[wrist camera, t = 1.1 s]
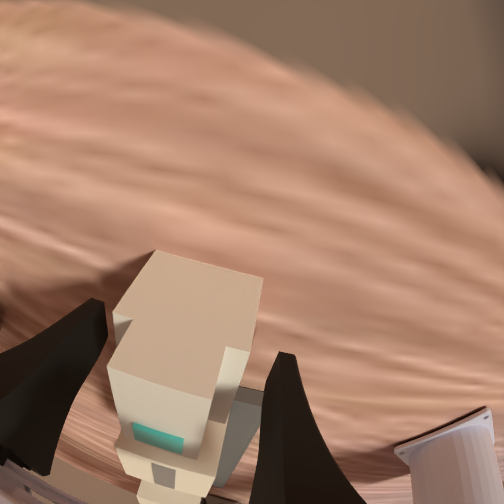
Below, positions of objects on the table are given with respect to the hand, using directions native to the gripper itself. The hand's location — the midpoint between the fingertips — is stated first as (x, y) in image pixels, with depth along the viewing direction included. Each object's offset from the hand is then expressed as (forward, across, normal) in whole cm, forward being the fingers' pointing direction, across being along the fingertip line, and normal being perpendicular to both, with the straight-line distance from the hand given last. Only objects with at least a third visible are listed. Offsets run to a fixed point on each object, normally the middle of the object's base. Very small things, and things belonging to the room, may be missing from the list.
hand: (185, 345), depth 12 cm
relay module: (+2, 0, 0) cm, 2 cm away
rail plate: (+2, 0, +14) cm, 14 cm away
